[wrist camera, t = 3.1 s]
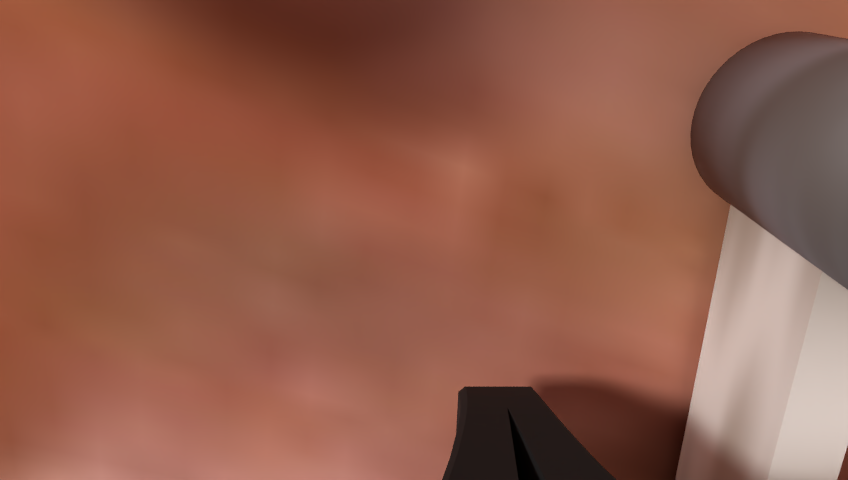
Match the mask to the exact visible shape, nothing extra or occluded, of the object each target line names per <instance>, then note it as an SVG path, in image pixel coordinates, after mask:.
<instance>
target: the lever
mask: <svg viewBox="0 0 848 480" xmlns="http://www.w3.org/2000/svg"><path fill="white" fill-rule="evenodd" d="M691 149H692V155H693V159H694V162H695V165H696V168H697V170H698V172H699V174H700V176H701V177H702V179H703V180H704V182H705V183H706V184H707V185H708V187H709V188H710V189H711V190H712V191H713V192H715V193H716V194H717V195H719V196H720V197H721V198H723V199H724V200H725V201H727V202H728V203H729V204H731V205H730V210H729V215H728V220H727V225H726V230H725V235H724V240H723V245H722V250H721V255H720V260H719V265H718V270H717V275H716V280H715V285H714V290H713V295H712V300H711V305H710V310H709V315H708V320H707V325H706V330H705V335H704V339H703V344H702V349H701V354H700V359H699V364H698V369H697V374H696V379H695V384H694V389H693V394H692V399H691V404H690V409H689V414H688V419H687V424H686V429H685V434H684V439H683V444H682V449H681V454H680V459H679V464H678V469H677V474H676V479H675V480H837V478H838V475H839V472H840V469H841V466H842V462H843V459H844V456H845V453H846V449H847V446H848V39H845V38H839V37H834V36H828V35H822V34H817V33H810V32H785V33H780V34H775V35H772V36H768V37H765V38H762V39H760V40H758V41H756V42H754V43H751V44H750V45H748V46H746V47H745V48H743V49H741V50H740V51H739V52H737V53H736V54H735V55H733V56H732V57H731V58H729V59H728V60H727V61H726V62H725V63H724V64H723V65H722V66H721V67H720V68H719V69H718V71H717V72H716V73H715V74H714V75H713V77H712V78H711V79H710V81H709V82H708V84H707V85H706V87H705V89H704V91H703V92H702V94H701V96H700V98H699V101H698V103H697V106H696V109H695V112H694V116H693V120H692V126H691Z"/></svg>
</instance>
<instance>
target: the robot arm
mask: <svg viewBox="0 0 848 480" xmlns="http://www.w3.org/2000/svg"><path fill="white" fill-rule="evenodd" d="M442 480H616V479H615V478H614V477H613V476H612V475H611V474H610V473H609V472H608V471H606V470H605V469H604V468H603V467H602V466H601V465H600V464H599V463H598V462H597V461H596V459H595V458H594V457H593V456H592V455H591V454H590V453H589V452H588V451H587V450H586V449H585V448H584V447H583V446H582V445H581V444H580V443H579V441H578V440H577V439H576V438H575V437H574V436H573V435H572V434H571V433H570V432H569V430H568V429H567V428H566V427H565V426H564V425H563V424H562V422H561V421H560V420H559V419H558V418H557V417H556V415H555V414H554V413H553V412H552V411H551V410H550V408H549V407H548V406H547V405H546V404H545V402H544V401H543V400H542V399H541V398H540V396H539V395H538V394H537V393H536V392H535V391H534V390H533V389H532V388H531V387H464V388H463V389H462V390H460V391H459V392H458V411H457V429H456V437H455V441H454V445H453V449H452V453H451V456H450V459H449V462H448V465H447V468H446V471H445V473H444V476H443V479H442Z"/></svg>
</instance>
